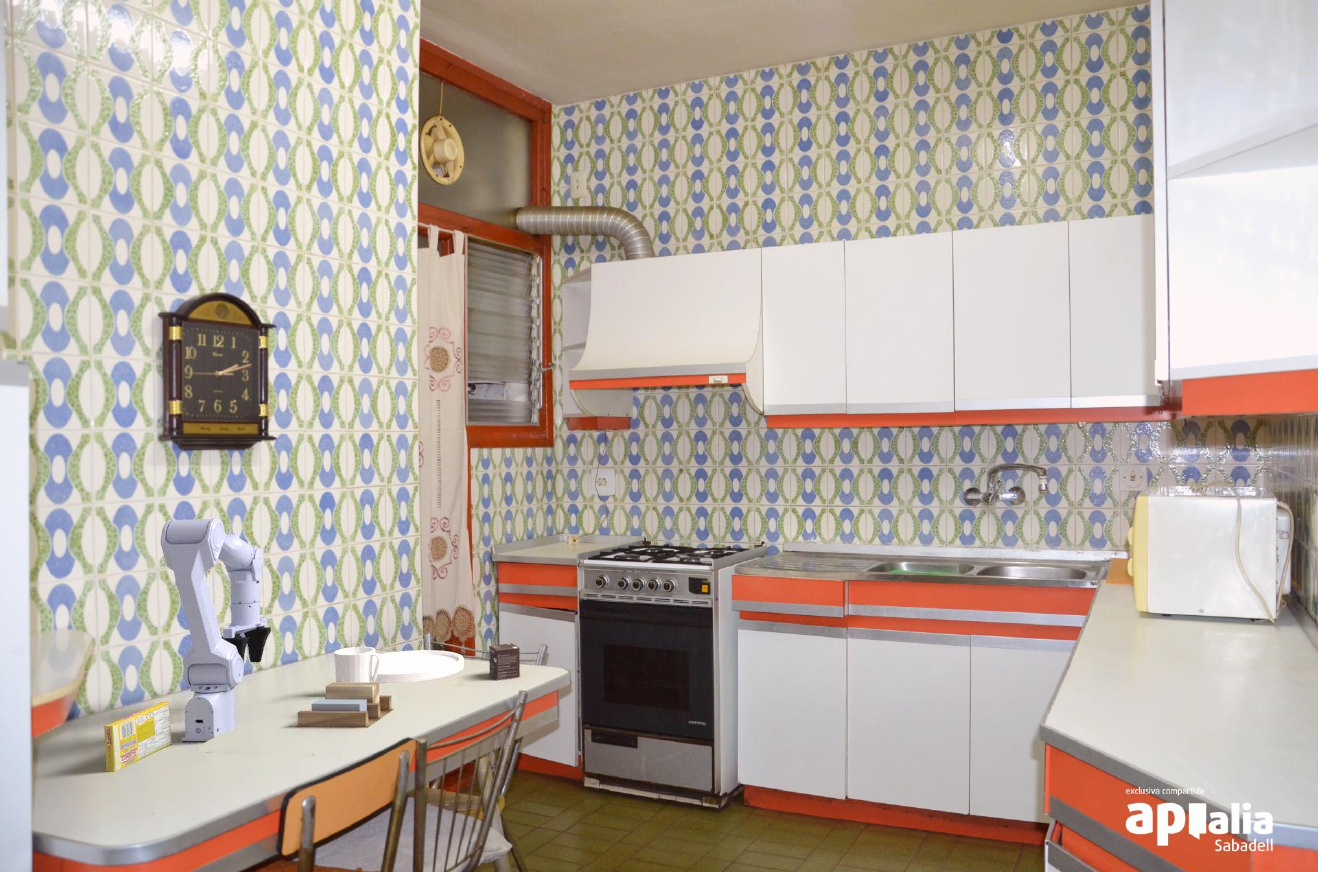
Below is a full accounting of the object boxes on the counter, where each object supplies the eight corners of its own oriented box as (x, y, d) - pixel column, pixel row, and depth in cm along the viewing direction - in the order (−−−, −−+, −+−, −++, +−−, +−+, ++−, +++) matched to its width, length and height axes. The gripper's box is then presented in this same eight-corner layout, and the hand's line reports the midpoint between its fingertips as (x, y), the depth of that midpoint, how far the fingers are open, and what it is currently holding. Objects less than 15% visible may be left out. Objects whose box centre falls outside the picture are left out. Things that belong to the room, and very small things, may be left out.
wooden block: (372, 715, 207) (372, 686, 207) (326, 715, 208) (325, 686, 209) (379, 711, 211) (379, 682, 211) (333, 710, 212) (332, 682, 212)
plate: (332, 685, 241) (331, 674, 241) (370, 660, 269) (369, 650, 269) (448, 683, 240) (448, 673, 240) (474, 658, 268) (474, 649, 268)
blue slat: (360, 724, 201) (359, 703, 201) (311, 723, 202) (311, 703, 202) (367, 719, 205) (366, 699, 205) (319, 718, 206) (319, 699, 206)
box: (489, 675, 246) (488, 645, 246) (513, 672, 249) (512, 642, 249) (496, 680, 241) (495, 649, 241) (520, 677, 243) (519, 647, 243)
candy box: (162, 744, 194) (161, 701, 194) (172, 744, 194) (171, 701, 194) (104, 771, 178) (103, 724, 178) (115, 772, 178) (114, 724, 178)
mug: (327, 700, 225) (326, 654, 225) (348, 690, 234) (347, 646, 234) (371, 702, 222) (370, 655, 223) (391, 692, 231) (390, 647, 231)
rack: (367, 732, 199) (367, 712, 199) (294, 731, 200) (294, 712, 200) (394, 713, 213) (394, 695, 213) (326, 712, 214) (325, 694, 214)
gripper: (245, 607, 209) (246, 673, 209) (279, 596, 223) (280, 658, 223) (213, 607, 210) (214, 673, 210) (249, 596, 224) (250, 658, 224)
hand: (246, 665), depth 216 cm, fingers open, 7 cm apart
